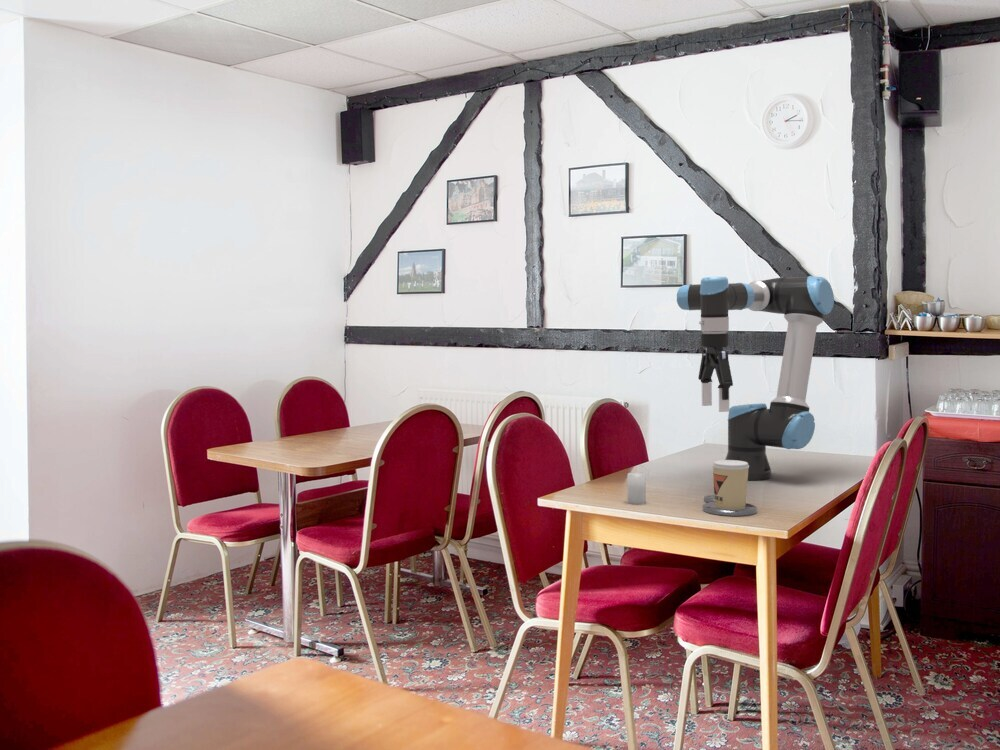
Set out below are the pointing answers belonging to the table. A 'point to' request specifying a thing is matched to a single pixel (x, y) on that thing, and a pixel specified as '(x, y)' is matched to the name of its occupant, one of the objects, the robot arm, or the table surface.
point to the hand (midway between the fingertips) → (715, 408)
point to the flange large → (712, 509)
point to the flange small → (709, 498)
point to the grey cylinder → (636, 488)
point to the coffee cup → (730, 484)
